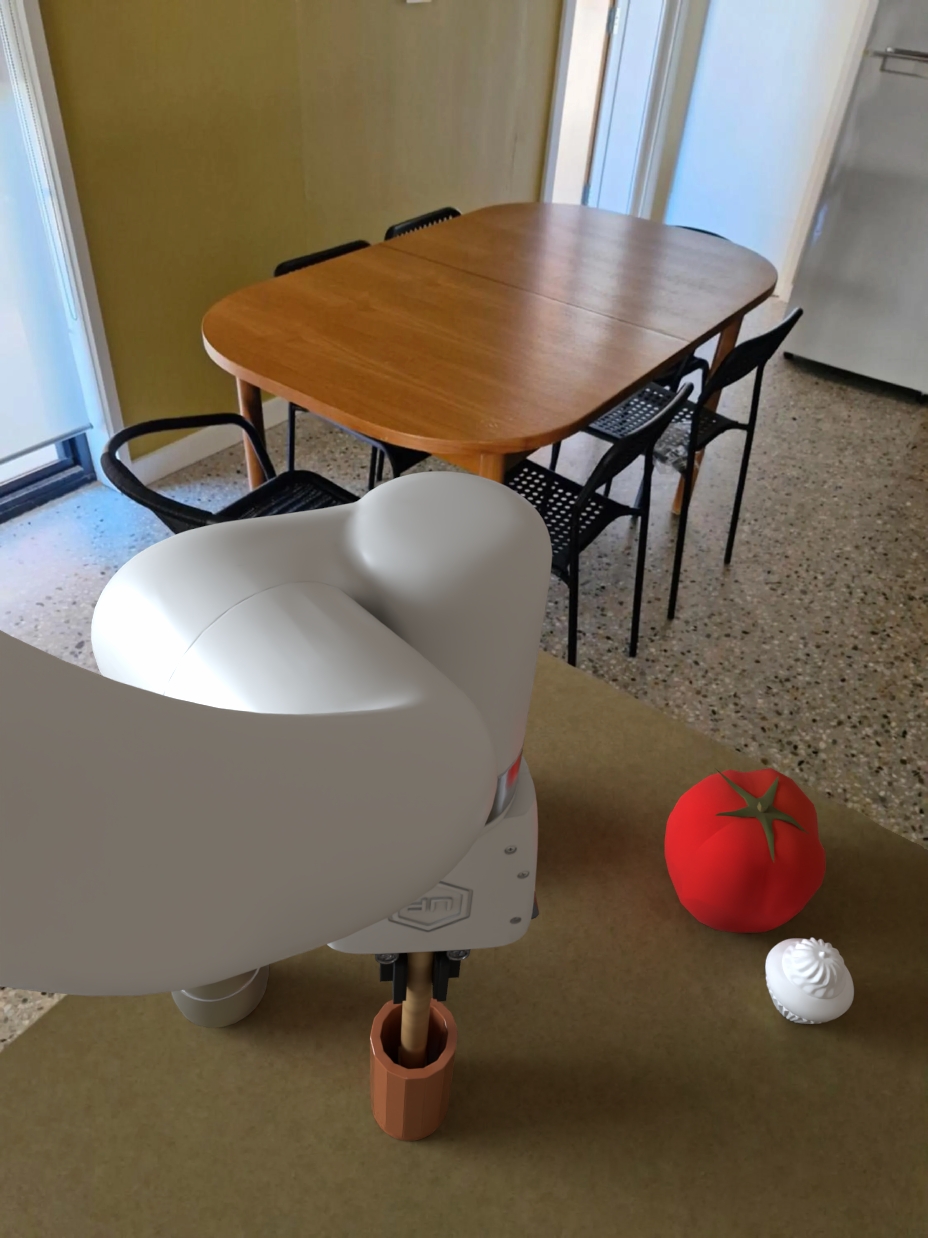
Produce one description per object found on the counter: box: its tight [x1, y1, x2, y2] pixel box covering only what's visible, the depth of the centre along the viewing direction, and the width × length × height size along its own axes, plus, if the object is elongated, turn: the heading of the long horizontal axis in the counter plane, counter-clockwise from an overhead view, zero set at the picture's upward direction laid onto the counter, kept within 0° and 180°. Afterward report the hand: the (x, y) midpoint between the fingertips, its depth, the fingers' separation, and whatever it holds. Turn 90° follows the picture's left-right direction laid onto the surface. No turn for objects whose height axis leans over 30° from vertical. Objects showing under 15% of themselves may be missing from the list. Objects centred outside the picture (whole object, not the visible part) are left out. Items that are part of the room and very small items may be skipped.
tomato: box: [664, 767, 827, 934], centre depth 70 cm, size 12×13×12 cm
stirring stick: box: [397, 951, 434, 1069], centre depth 52 cm, size 2×2×19 cm
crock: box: [369, 996, 459, 1142], centre depth 56 cm, size 5×5×9 cm
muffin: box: [764, 937, 855, 1025], centre depth 64 cm, size 6×6×7 cm
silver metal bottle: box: [170, 964, 270, 1029], centre depth 58 cm, size 6×7×20 cm
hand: (418, 976), depth 49 cm, fingers closed on stirring stick
